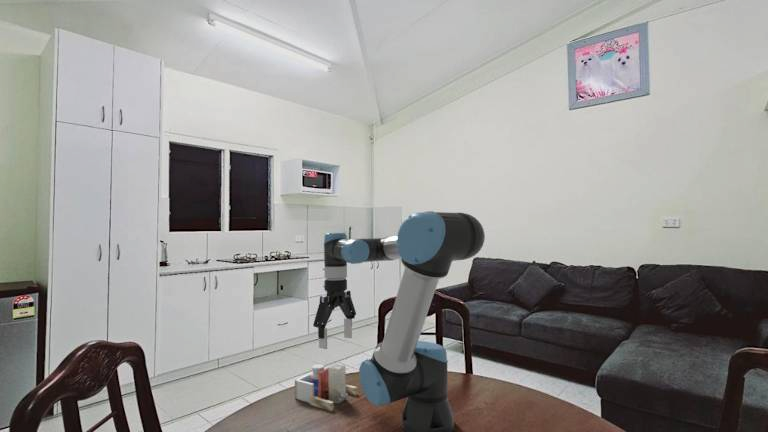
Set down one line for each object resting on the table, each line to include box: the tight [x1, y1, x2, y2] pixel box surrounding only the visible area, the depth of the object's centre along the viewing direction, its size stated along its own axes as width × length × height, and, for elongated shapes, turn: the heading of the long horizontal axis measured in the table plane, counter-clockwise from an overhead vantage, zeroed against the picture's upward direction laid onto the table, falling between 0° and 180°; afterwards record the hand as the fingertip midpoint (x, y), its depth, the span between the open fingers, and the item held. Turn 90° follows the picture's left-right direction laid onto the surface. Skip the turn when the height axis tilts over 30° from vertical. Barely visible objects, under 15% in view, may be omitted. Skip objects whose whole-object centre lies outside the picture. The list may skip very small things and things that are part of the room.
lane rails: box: [309, 383, 358, 412], centre depth 129 cm, size 9×14×2 cm, turn 149°
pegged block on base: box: [318, 363, 350, 405], centre depth 128 cm, size 10×6×11 cm, turn 59°
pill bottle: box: [310, 363, 325, 397], centre depth 132 cm, size 6×5×10 cm
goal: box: [294, 371, 314, 404], centre depth 133 cm, size 8×12×6 cm, turn 149°
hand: (336, 342), depth 129 cm, fingers open, 13 cm apart
